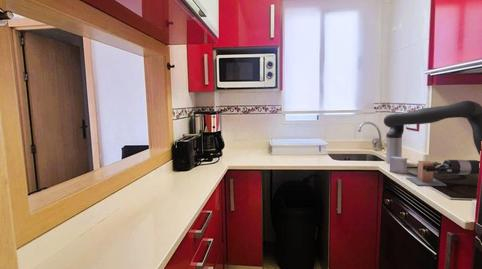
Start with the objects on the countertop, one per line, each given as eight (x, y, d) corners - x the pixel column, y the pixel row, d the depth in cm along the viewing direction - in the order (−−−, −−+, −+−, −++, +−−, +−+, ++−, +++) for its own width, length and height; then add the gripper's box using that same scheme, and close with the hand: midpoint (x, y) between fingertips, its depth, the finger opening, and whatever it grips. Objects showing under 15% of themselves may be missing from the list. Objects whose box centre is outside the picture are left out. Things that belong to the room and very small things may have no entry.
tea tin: (417, 179, 144) (418, 160, 143) (427, 179, 144) (428, 160, 142) (422, 182, 139) (423, 162, 138) (433, 182, 139) (433, 162, 138)
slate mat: (406, 178, 149) (406, 177, 149) (432, 178, 147) (432, 177, 147) (417, 185, 136) (417, 184, 136) (446, 185, 134) (446, 184, 134)
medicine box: (406, 172, 161) (407, 157, 160) (404, 173, 159) (404, 159, 158) (392, 170, 167) (392, 156, 166) (389, 171, 164) (389, 157, 164)
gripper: (448, 157, 145) (415, 157, 148) (466, 162, 131) (429, 163, 134) (448, 170, 146) (415, 170, 148) (465, 178, 132) (428, 178, 134)
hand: (421, 167), depth 141 cm, fingers open, 8 cm apart
